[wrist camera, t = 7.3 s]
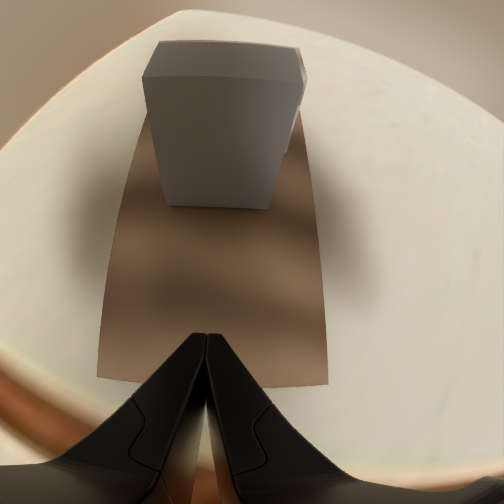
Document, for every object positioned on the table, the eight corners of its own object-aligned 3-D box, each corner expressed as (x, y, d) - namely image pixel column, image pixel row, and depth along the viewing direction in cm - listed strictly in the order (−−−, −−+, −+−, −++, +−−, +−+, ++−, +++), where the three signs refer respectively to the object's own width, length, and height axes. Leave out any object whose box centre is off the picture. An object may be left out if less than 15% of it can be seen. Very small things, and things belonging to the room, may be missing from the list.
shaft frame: (321, 384, 16) (391, 379, 9) (104, 377, 15) (32, 366, 8) (296, 121, 24) (318, 45, 17) (152, 114, 23) (141, 36, 16)
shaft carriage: (267, 209, 18) (303, 84, 10) (166, 205, 18) (141, 77, 10) (262, 83, 24) (278, -10, 16) (191, 79, 23) (191, -14, 15)
